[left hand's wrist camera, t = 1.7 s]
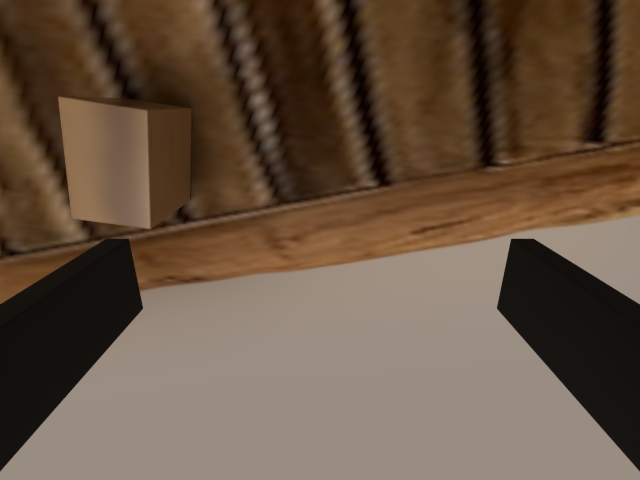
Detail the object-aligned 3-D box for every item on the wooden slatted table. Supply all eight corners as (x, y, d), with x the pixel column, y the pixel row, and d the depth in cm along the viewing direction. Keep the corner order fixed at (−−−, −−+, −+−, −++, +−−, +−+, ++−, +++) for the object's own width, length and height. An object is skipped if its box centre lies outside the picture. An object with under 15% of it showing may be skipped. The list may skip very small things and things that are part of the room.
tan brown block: (129, 191, 29) (71, 218, 22) (125, 98, 26) (57, 95, 19) (190, 200, 29) (150, 229, 22) (192, 108, 27) (147, 109, 20)
